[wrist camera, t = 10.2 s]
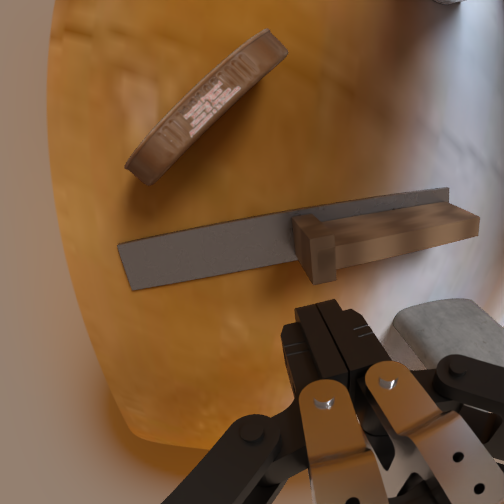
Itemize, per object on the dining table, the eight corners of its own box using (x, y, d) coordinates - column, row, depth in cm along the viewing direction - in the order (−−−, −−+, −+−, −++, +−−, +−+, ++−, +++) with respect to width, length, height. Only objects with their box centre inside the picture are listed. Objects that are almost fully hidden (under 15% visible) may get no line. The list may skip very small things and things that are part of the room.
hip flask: (390, 329, 36) (471, 445, 18) (398, 303, 35) (493, 417, 16) (468, 316, 38) (545, 395, 20) (477, 293, 36) (562, 371, 18)
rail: (446, 187, 29) (449, 188, 29) (444, 227, 31) (447, 228, 31) (118, 243, 28) (117, 245, 27) (133, 287, 30) (132, 290, 29)
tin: (257, 42, 22) (273, 9, 15) (281, 66, 23) (307, 41, 16) (136, 158, 25) (105, 171, 18) (161, 181, 26) (139, 202, 19)
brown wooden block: (445, 192, 29) (480, 207, 23) (444, 226, 31) (476, 244, 25) (291, 216, 28) (309, 239, 23) (295, 256, 30) (313, 285, 24)
